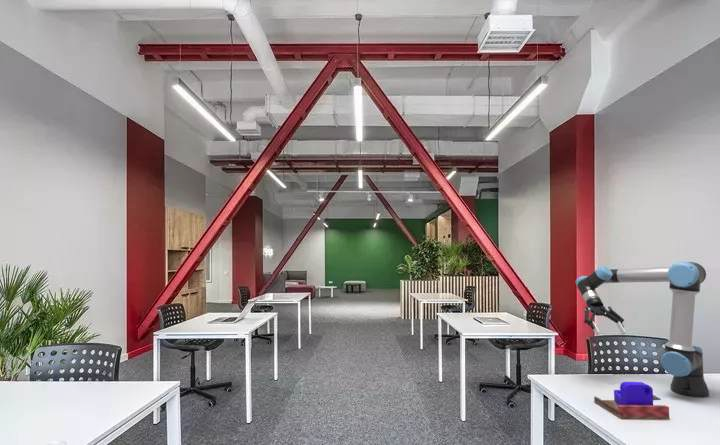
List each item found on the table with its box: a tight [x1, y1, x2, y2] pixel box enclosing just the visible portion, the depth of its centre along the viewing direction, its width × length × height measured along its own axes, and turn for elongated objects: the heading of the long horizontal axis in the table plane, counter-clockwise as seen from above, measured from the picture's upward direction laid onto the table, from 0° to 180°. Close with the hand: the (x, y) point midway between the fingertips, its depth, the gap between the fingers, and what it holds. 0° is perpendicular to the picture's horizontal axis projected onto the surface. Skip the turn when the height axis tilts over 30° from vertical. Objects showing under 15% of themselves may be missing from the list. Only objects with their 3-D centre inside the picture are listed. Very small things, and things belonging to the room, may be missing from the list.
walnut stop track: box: [593, 396, 670, 421], centre depth 186 cm, size 20×20×5 cm
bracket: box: [613, 381, 654, 405], centre depth 188 cm, size 18×11×12 cm, turn 177°
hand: (611, 333), depth 217 cm, fingers open, 13 cm apart
